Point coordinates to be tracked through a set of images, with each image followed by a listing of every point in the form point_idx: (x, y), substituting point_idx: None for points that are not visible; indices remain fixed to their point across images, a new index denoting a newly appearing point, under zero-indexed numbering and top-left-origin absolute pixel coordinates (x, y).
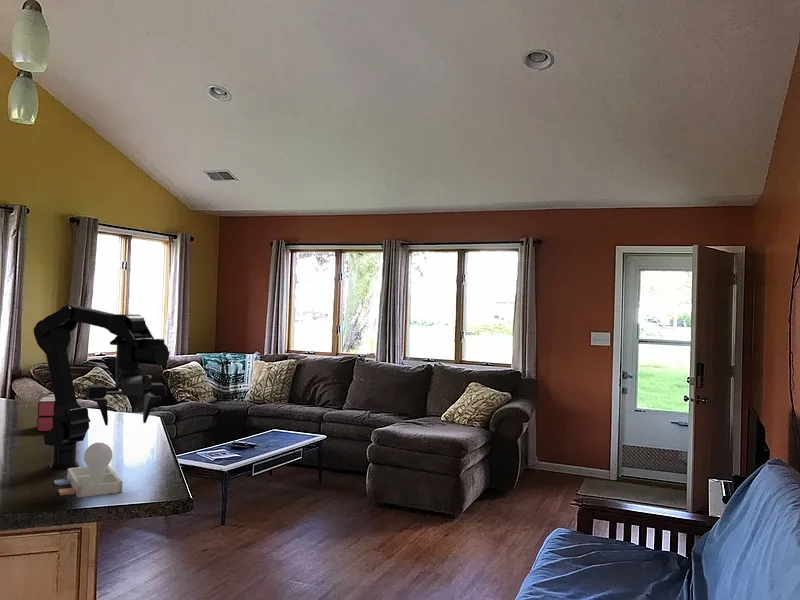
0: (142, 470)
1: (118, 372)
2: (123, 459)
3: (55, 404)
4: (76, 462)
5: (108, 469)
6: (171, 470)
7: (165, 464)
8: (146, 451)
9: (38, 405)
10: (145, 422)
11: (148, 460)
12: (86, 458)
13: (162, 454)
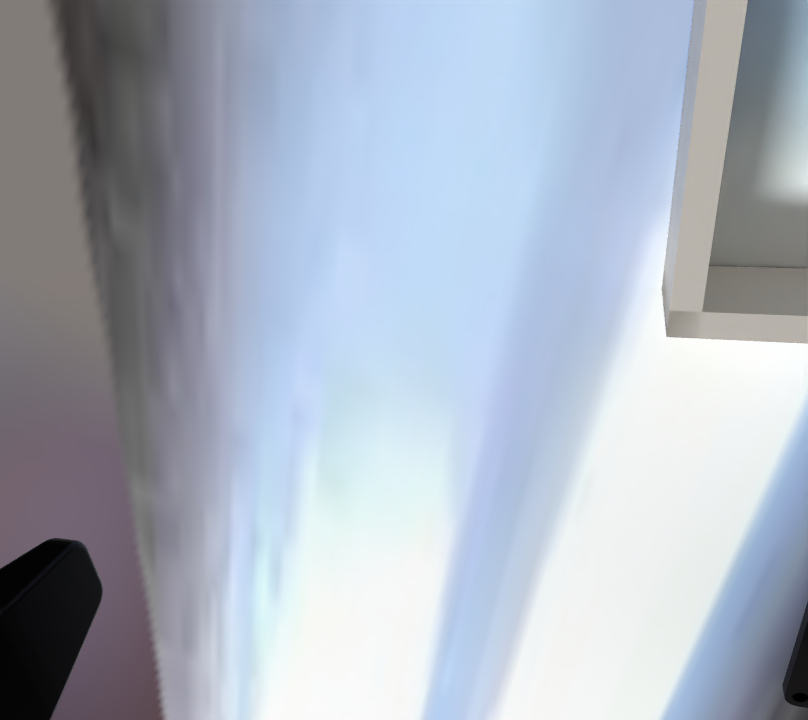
0: (349, 281)
1: None
2: (443, 613)
3: None
4: (801, 652)
5: (725, 141)
6: (114, 180)
7: (167, 379)
8: (283, 696)
9: None
10: (49, 542)
11: (283, 524)
12: None
13: (191, 606)
